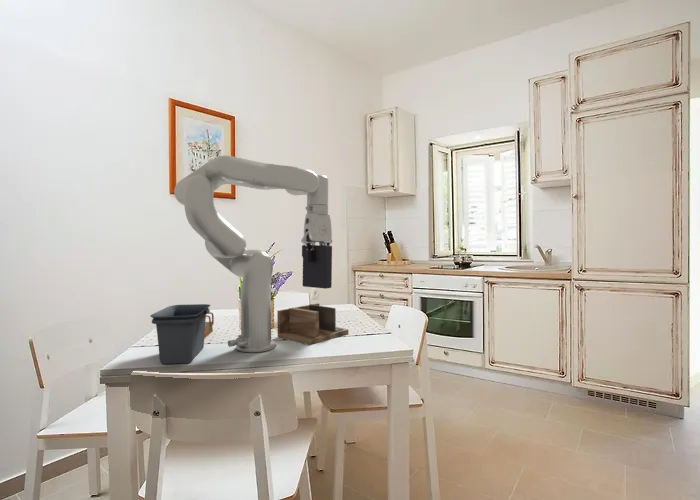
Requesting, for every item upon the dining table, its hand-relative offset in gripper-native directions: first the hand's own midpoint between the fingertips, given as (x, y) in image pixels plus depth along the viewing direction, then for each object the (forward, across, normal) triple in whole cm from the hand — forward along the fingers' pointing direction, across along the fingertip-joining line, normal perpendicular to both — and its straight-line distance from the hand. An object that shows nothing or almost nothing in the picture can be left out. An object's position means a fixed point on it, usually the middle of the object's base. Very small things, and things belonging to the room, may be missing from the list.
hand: (317, 261), depth 149 cm
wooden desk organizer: (+27, 0, +2) cm, 27 cm away
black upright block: (+10, 0, 0) cm, 10 cm away
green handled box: (+28, -29, +33) cm, 52 cm away
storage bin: (+28, -42, +13) cm, 52 cm away
